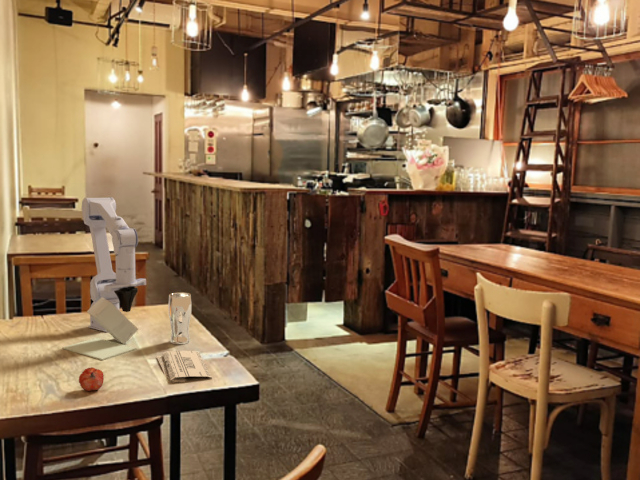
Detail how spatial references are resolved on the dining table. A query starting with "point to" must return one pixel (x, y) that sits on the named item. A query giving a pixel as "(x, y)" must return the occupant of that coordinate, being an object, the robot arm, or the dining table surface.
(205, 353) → the dining table surface
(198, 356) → the newspaper
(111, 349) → the mat
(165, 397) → the dining table surface
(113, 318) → the small box
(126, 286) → the robot arm
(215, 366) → the dining table surface
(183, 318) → the beer glass
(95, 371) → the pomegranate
